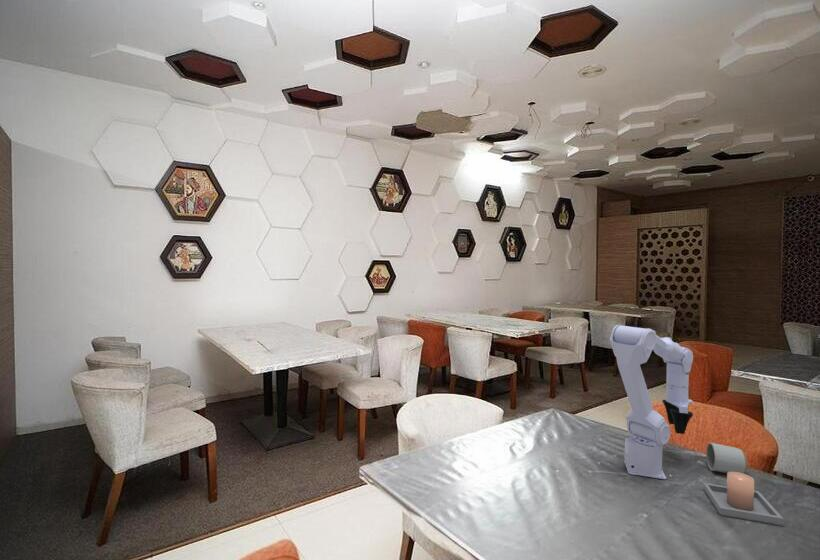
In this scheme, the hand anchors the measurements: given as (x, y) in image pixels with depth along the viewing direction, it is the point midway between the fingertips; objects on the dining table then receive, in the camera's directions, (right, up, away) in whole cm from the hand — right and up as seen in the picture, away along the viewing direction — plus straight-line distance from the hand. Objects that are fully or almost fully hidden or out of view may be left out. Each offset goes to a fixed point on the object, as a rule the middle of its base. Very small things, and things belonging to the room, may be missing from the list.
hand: (676, 428), depth 125 cm
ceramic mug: (+10, -10, -6) cm, 15 cm away
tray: (-1, -10, -25) cm, 27 cm away
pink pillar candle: (-1, -10, -25) cm, 27 cm away
